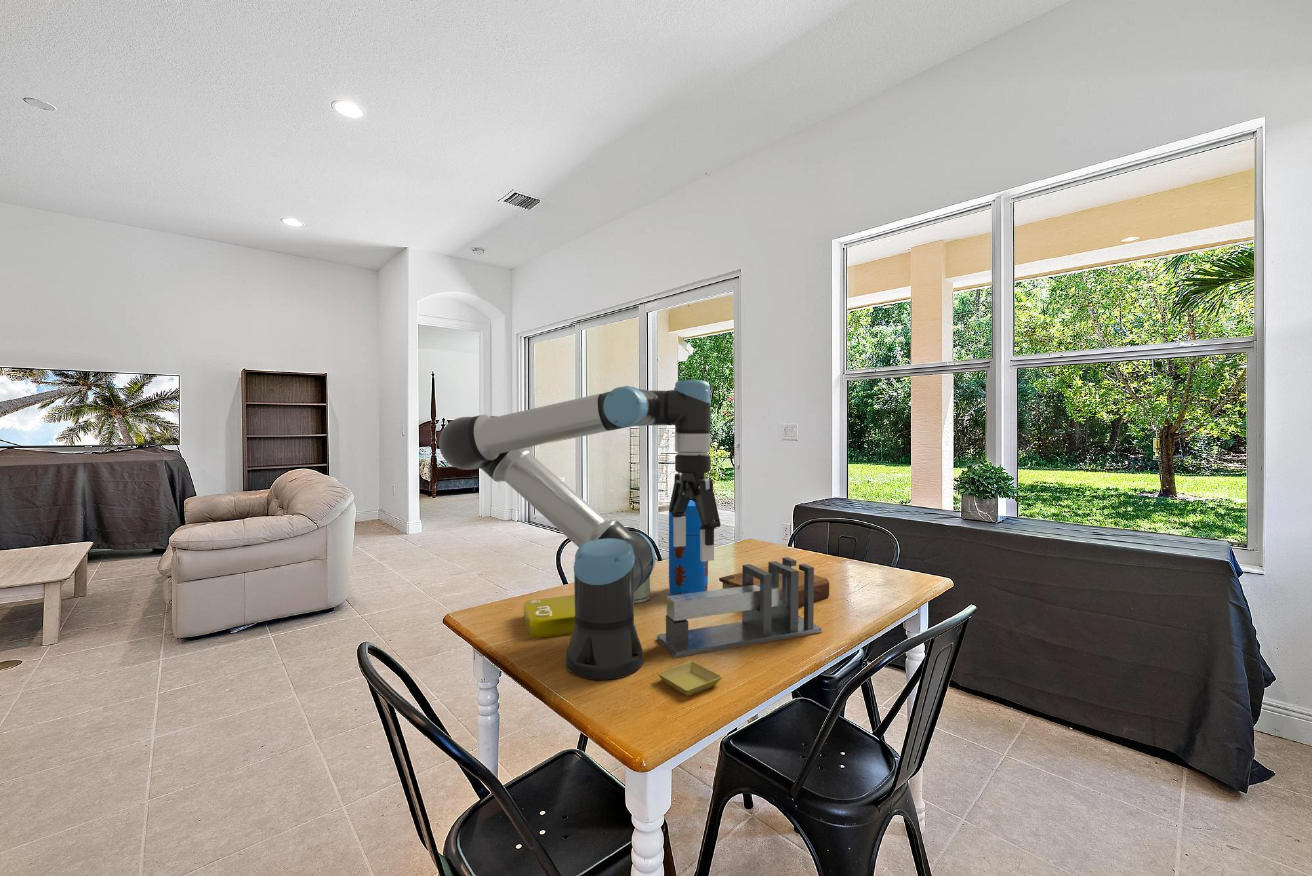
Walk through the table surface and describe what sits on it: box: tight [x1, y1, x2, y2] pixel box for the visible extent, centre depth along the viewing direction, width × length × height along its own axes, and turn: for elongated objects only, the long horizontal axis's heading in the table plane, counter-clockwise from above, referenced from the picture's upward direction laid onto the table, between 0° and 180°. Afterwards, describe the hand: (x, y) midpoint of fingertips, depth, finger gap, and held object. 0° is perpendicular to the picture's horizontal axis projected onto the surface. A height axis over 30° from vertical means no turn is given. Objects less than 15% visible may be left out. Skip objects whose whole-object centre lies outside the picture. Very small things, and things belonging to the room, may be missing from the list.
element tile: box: [523, 594, 575, 639], centre depth 131 cm, size 15×15×5 cm
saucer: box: [657, 660, 723, 697], centre depth 101 cm, size 9×9×2 cm
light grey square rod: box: [666, 584, 781, 621], centre depth 121 cm, size 26×4×4 cm, turn 112°
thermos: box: [668, 499, 709, 596], centre depth 153 cm, size 11×11×25 cm
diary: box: [718, 565, 830, 608], centre depth 150 cm, size 23×19×6 cm
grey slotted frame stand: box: [656, 556, 823, 658], centre depth 123 cm, size 36×10×15 cm, turn 112°
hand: (692, 553), depth 118 cm, fingers open, 13 cm apart
